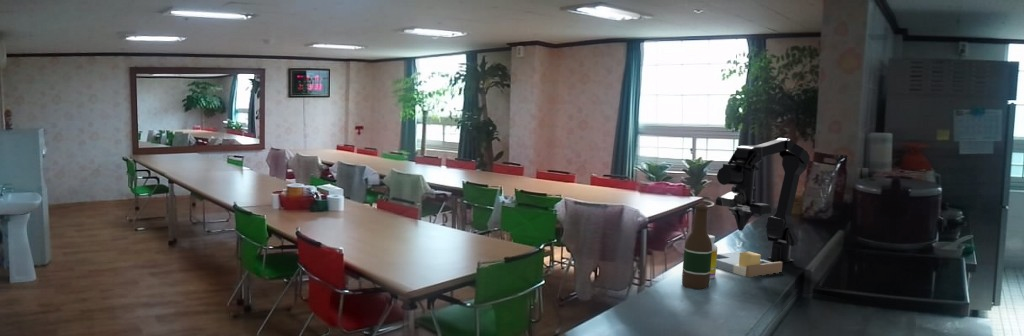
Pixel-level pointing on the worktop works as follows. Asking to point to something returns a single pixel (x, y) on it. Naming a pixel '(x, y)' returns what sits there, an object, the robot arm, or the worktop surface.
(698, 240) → the beer bottle
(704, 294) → the worktop surface
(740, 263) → the block
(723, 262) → the board
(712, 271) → the supplement bottle
